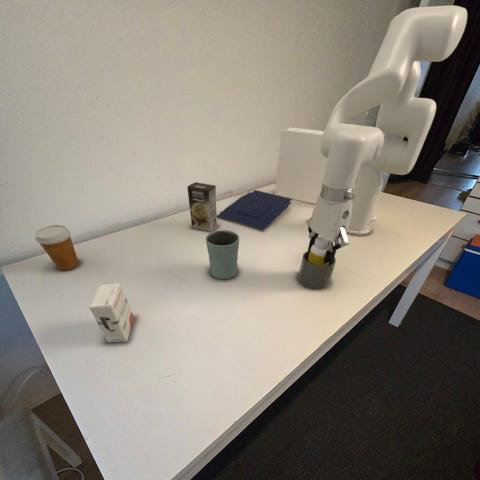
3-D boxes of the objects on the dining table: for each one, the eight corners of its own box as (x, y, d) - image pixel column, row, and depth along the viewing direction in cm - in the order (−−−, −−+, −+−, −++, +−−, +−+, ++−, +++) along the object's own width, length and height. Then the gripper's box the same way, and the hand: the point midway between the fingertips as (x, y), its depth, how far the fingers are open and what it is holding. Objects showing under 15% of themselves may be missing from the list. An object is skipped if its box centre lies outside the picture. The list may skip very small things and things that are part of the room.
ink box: (115, 318, 70) (99, 282, 61) (134, 317, 70) (121, 281, 62) (106, 343, 63) (87, 307, 55) (127, 342, 64) (111, 306, 56)
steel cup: (314, 268, 88) (320, 247, 82) (335, 283, 82) (342, 261, 77) (292, 276, 85) (296, 254, 79) (311, 292, 79) (317, 270, 73)
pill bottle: (326, 279, 79) (335, 246, 71) (305, 277, 80) (312, 244, 72) (325, 268, 83) (334, 235, 76) (305, 265, 84) (312, 233, 76)
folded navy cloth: (295, 205, 124) (296, 198, 121) (263, 236, 108) (263, 229, 106) (251, 194, 133) (251, 187, 130) (216, 222, 118) (215, 214, 115)
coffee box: (191, 228, 108) (186, 186, 97) (198, 221, 113) (194, 181, 101) (211, 232, 106) (208, 190, 95) (217, 225, 110) (215, 184, 99)
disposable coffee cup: (90, 260, 90) (75, 227, 81) (68, 275, 83) (50, 240, 75) (68, 255, 92) (51, 222, 83) (45, 269, 85) (25, 235, 77)
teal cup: (215, 283, 81) (213, 248, 73) (203, 267, 88) (200, 233, 79) (244, 275, 85) (245, 241, 76) (230, 260, 91) (230, 227, 83)
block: (274, 194, 138) (281, 129, 118) (281, 190, 143) (289, 127, 123) (340, 209, 124) (360, 139, 105) (345, 204, 129) (365, 136, 110)
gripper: (374, 201, 61) (350, 266, 74) (323, 180, 72) (310, 240, 84) (351, 207, 58) (331, 274, 71) (302, 184, 69) (291, 246, 82)
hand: (320, 255), depth 77 cm, fingers closed on pill bottle, 6 cm apart
